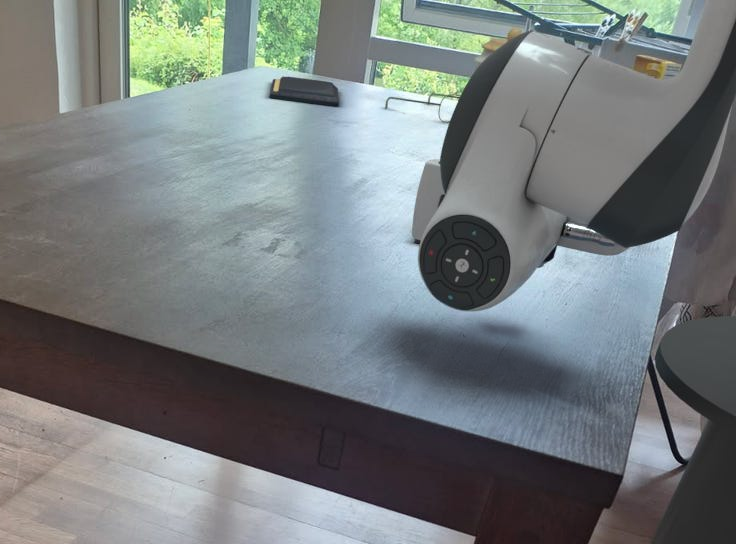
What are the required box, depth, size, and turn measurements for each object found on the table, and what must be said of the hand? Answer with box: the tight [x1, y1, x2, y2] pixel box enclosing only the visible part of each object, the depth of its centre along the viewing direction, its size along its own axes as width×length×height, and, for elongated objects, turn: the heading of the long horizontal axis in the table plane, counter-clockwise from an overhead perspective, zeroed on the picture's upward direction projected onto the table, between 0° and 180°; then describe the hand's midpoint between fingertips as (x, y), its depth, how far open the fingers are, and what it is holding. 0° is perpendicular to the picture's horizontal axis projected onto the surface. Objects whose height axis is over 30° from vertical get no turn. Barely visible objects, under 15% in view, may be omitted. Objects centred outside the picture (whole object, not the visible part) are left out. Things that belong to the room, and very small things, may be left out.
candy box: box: [631, 54, 683, 80], centre depth 176 cm, size 9×4×15 cm, turn 25°
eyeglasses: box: [384, 92, 461, 124], centre depth 187 cm, size 16×15×5 cm
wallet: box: [269, 76, 340, 107], centre depth 190 cm, size 20×2×15 cm
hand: (543, 189), depth 86 cm, fingers closed on beverage can, 5 cm apart
